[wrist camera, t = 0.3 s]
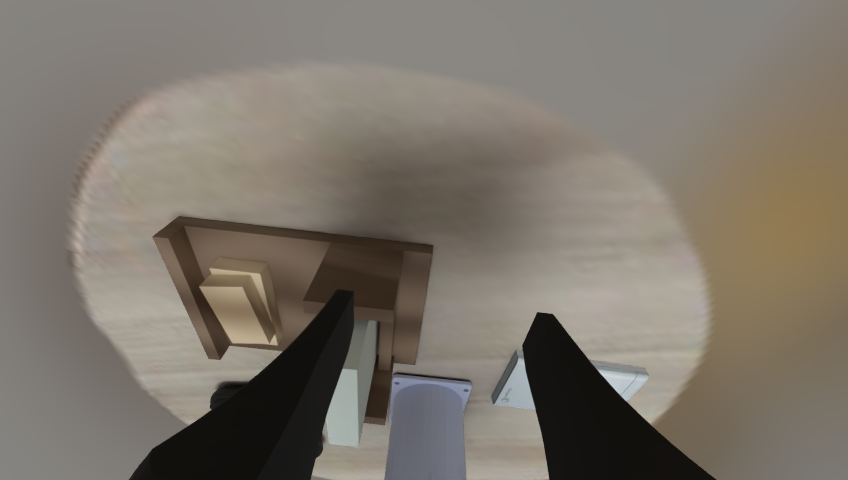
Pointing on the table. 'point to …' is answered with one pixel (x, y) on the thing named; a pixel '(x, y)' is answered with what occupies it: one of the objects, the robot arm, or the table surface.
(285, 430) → the robot arm
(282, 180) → the table surface
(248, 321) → the offcut stack
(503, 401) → the hard drive
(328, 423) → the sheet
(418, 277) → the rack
